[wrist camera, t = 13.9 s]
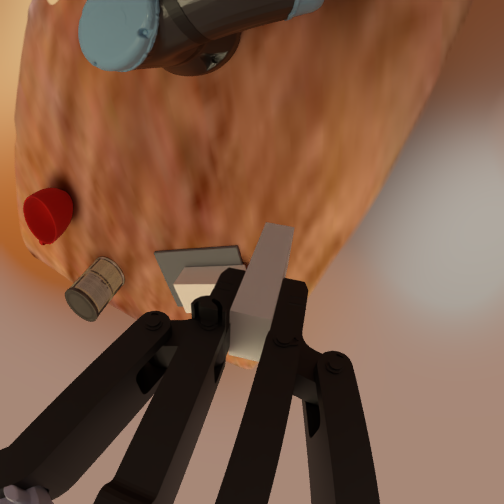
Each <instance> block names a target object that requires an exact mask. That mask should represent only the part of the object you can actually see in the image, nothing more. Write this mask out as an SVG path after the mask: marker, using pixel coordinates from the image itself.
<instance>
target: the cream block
mask: <svg viewBox="0 0 504 504" xmlns="http://www.w3.org/2000/svg"><path fill="white" fill-rule="evenodd" d="M229 267H230V268H235V269H240V270H245V271H246V267H245V265H229V266H205V267H184V269H183V270H182V272H181V273H180V275H179V276H178V278H177V279H176V281H175V282H174V284H173V285H174V288H175V290H176V292H177V294H178V296H179V298H180V301H181V303H182V305H183V307H184V309H185V311H186V313H192V312H191V303H192V302H193V301H194V299H196V298H198V297H200V296H206V295H209V296H210V294H211V292H212V290H213V288H214V286H215V284H216V282H217V280H218V278H219V276H220V274H221V273H222V272H223V271H225V270H226V269H227V268H229Z"/></svg>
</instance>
